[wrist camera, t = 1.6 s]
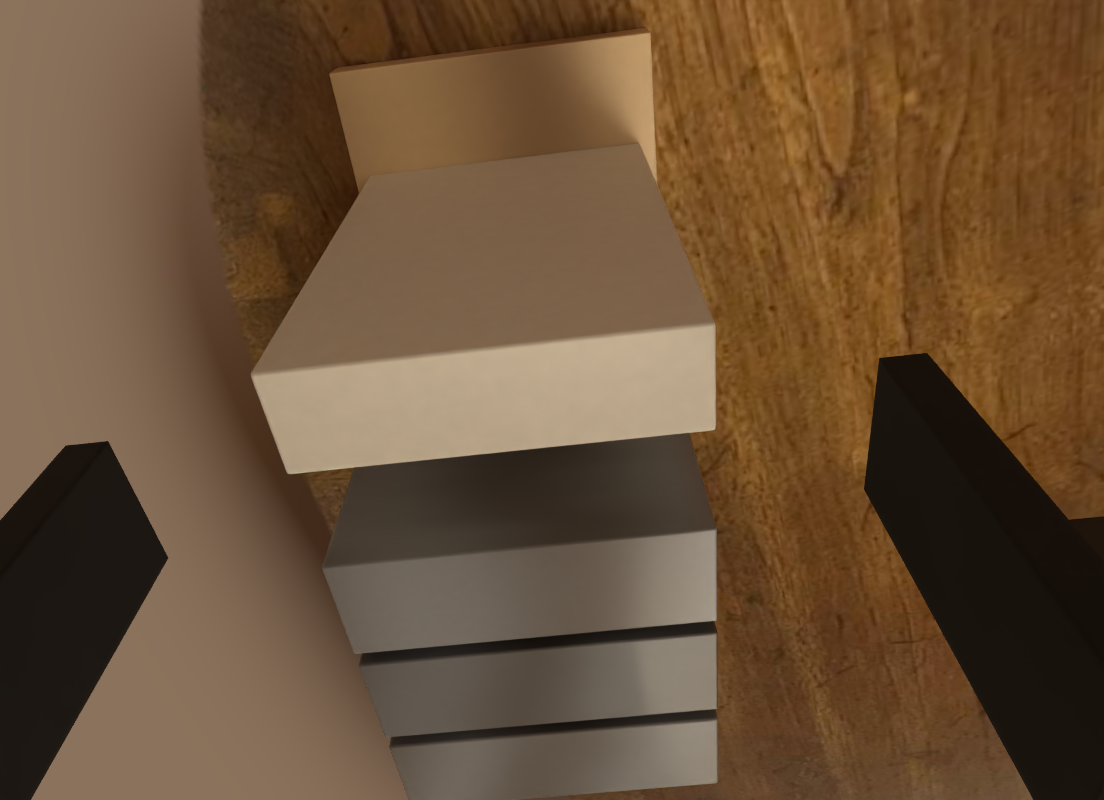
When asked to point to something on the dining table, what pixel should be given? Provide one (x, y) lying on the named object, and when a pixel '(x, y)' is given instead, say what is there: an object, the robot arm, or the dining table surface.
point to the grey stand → (527, 502)
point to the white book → (493, 318)
